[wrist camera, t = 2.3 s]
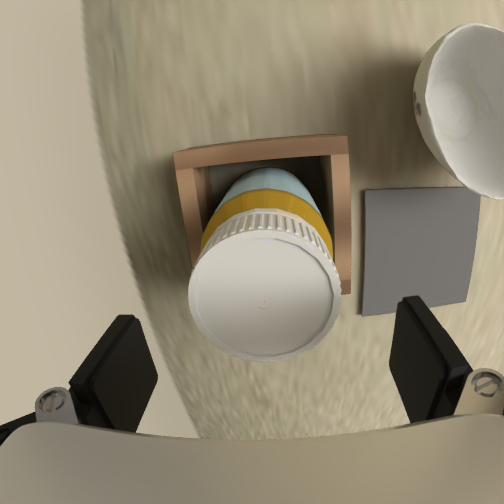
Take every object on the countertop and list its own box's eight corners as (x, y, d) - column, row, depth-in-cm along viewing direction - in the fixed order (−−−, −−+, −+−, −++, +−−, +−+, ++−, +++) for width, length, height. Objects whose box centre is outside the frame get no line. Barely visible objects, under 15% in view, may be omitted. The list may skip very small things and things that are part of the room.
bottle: (324, 226, 27) (373, 333, 13) (250, 260, 28) (231, 386, 14) (288, 151, 25) (309, 183, 11) (211, 190, 26) (144, 266, 12)
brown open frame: (190, 147, 25) (172, 152, 20) (333, 134, 24) (347, 135, 19) (211, 275, 29) (199, 304, 24) (338, 266, 28) (350, 293, 23)
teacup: (403, 192, 25) (447, 219, 18) (365, 49, 21) (400, 23, 14) (522, 162, 23) (574, 179, 15) (496, 41, 18) (548, 30, 11)
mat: (363, 189, 25) (365, 190, 25) (478, 186, 24) (480, 187, 24) (360, 313, 30) (362, 316, 29) (463, 299, 29) (465, 301, 28)
